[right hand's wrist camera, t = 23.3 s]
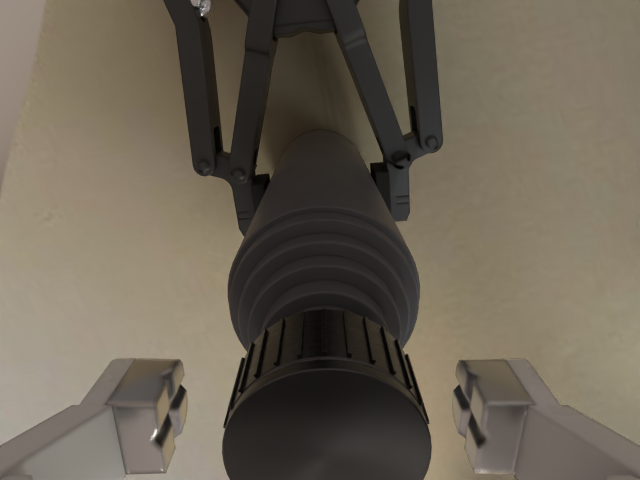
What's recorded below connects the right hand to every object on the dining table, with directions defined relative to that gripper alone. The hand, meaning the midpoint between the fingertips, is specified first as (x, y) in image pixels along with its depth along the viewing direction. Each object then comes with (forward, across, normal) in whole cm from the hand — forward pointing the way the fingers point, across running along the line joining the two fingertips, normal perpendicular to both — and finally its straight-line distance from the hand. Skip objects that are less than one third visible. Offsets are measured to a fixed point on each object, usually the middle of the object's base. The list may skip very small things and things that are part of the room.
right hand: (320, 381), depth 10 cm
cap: (-2, 0, 0) cm, 2 cm away
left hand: (+17, +1, -5) cm, 17 cm away
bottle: (+23, 0, 0) cm, 23 cm away
